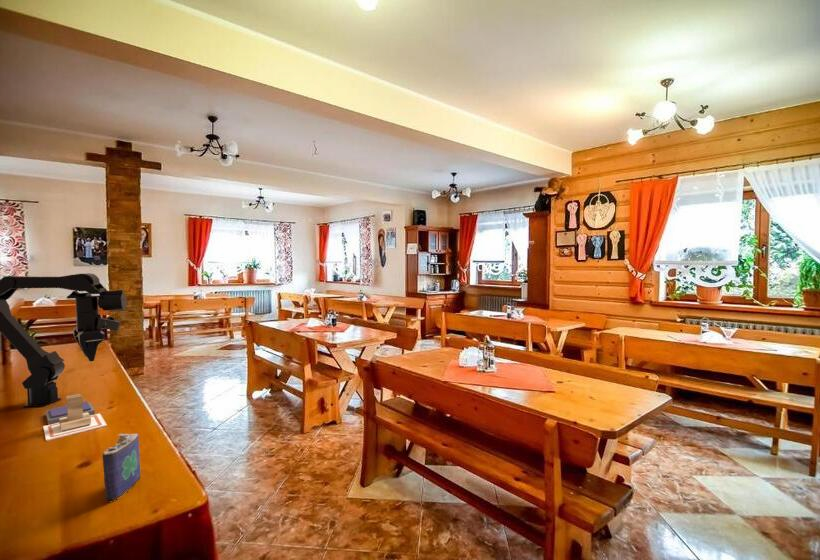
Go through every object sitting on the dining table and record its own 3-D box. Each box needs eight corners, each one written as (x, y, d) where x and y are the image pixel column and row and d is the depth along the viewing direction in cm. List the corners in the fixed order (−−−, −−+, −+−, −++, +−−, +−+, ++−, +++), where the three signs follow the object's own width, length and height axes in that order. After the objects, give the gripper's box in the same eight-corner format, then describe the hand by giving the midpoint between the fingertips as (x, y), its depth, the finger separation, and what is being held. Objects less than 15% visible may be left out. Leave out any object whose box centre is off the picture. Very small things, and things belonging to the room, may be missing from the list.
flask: (130, 475, 79) (128, 424, 79) (145, 474, 80) (143, 423, 79) (100, 503, 70) (98, 445, 70) (118, 502, 70) (116, 444, 70)
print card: (43, 427, 104) (43, 425, 104) (99, 414, 113) (99, 413, 113) (46, 441, 96) (46, 439, 96) (106, 425, 104) (106, 424, 104)
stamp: (59, 425, 104) (58, 396, 104) (88, 419, 109) (87, 391, 108) (61, 432, 100) (59, 401, 100) (91, 425, 104) (89, 396, 104)
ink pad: (46, 415, 113) (45, 408, 113) (90, 405, 120) (89, 399, 120) (48, 424, 106) (47, 418, 106) (94, 414, 113) (94, 407, 113)
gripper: (123, 311, 125) (125, 358, 126) (112, 307, 138) (114, 350, 139) (78, 314, 117) (81, 365, 118) (71, 310, 130) (74, 356, 131)
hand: (89, 358), depth 127 cm, fingers open, 9 cm apart
